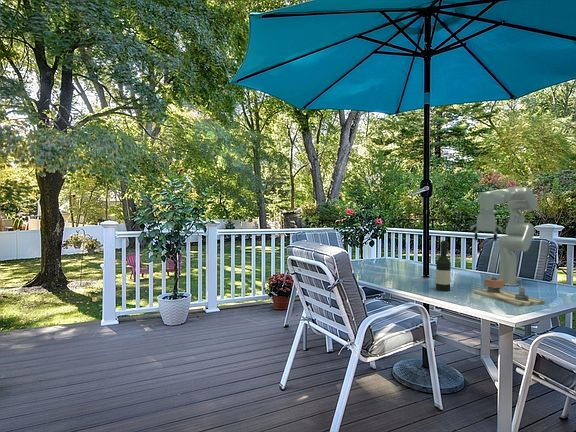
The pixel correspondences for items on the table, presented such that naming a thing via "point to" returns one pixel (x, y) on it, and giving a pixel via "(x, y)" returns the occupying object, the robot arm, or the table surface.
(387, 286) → the table surface
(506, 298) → the board
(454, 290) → the table surface
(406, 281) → the table surface
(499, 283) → the collar
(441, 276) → the wine bottle
